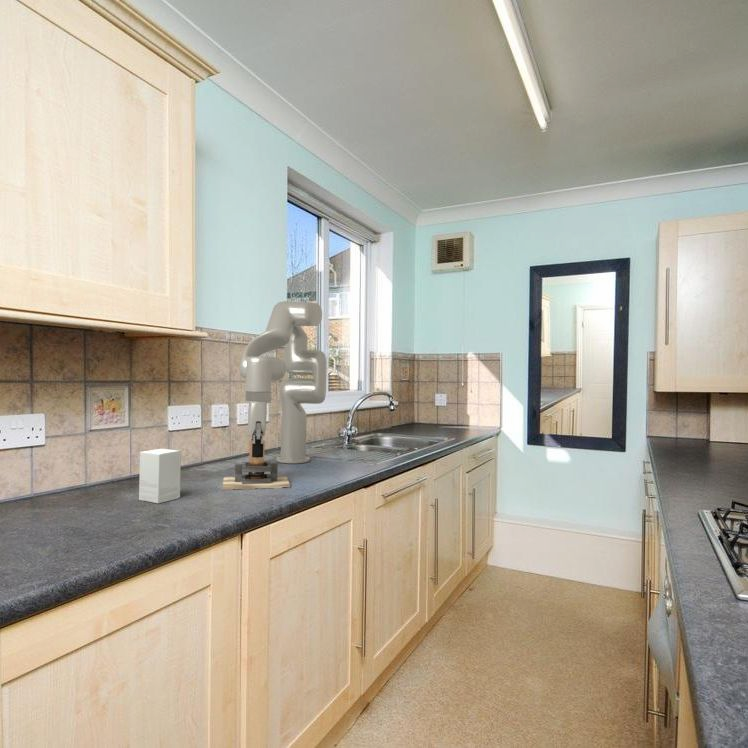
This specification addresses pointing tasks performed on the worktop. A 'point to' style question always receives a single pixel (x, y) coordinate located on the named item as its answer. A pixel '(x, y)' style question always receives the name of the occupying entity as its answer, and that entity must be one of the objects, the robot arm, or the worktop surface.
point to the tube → (256, 463)
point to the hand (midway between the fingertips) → (256, 454)
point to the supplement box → (159, 475)
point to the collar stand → (245, 483)
